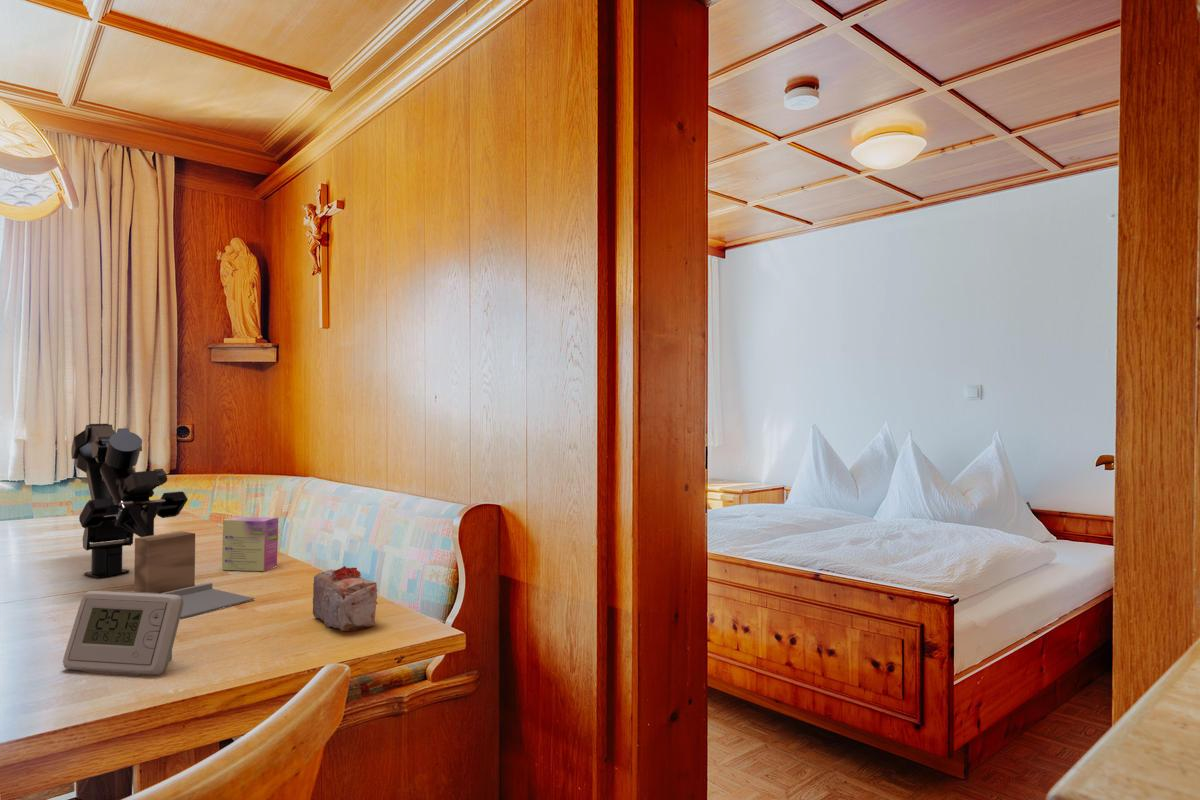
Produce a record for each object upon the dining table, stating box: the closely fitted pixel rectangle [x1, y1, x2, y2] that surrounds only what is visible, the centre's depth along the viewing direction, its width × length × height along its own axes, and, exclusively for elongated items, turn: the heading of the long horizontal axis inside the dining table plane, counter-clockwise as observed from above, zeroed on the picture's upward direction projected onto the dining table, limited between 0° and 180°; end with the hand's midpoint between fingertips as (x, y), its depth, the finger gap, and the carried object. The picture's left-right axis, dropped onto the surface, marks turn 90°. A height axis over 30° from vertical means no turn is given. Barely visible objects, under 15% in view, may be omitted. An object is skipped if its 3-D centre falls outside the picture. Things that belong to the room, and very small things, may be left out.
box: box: [221, 515, 279, 573], centre depth 163 cm, size 10×6×12 cm, turn 84°
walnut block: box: [133, 530, 196, 593], centre depth 140 cm, size 5×9×12 cm, turn 150°
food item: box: [312, 566, 378, 632], centre depth 123 cm, size 14×8×10 cm, turn 46°
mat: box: [160, 582, 256, 620], centre depth 134 cm, size 15×14×2 cm
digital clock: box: [62, 590, 184, 676], centre depth 102 cm, size 16×9×11 cm, turn 71°
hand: (150, 539), depth 143 cm, fingers closed
